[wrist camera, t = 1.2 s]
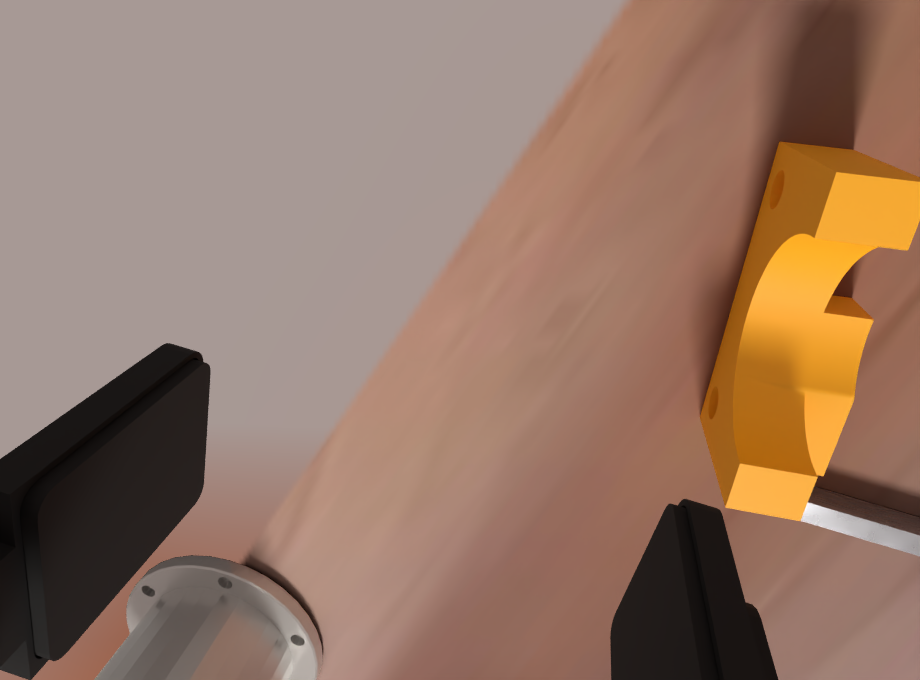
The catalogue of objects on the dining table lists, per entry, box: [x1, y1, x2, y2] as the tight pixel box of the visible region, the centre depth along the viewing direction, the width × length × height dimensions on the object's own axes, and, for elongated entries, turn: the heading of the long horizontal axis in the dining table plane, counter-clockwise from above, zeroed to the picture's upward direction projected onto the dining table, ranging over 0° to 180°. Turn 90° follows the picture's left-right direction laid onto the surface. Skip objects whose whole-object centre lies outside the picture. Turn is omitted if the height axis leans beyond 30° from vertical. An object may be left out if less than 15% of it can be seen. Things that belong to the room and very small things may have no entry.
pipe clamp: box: [700, 141, 920, 521], centre depth 24 cm, size 12×4×6 cm, turn 175°
